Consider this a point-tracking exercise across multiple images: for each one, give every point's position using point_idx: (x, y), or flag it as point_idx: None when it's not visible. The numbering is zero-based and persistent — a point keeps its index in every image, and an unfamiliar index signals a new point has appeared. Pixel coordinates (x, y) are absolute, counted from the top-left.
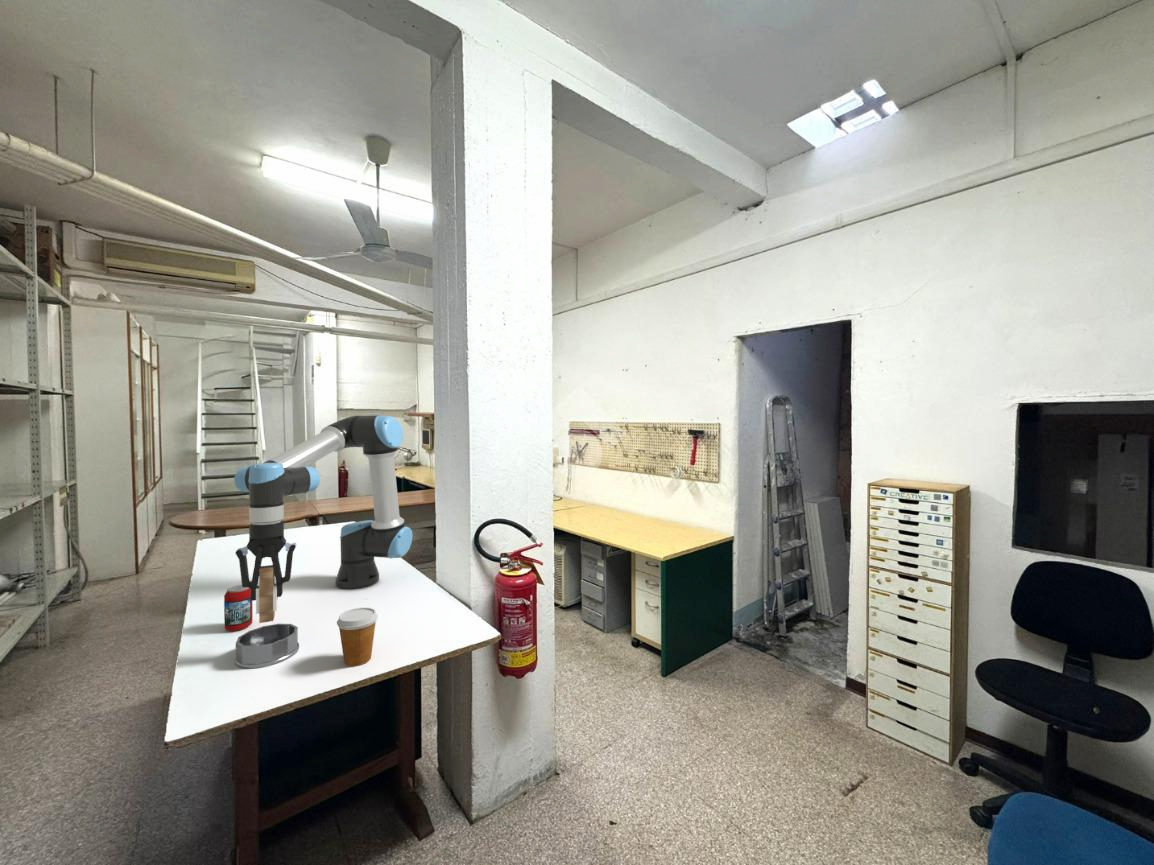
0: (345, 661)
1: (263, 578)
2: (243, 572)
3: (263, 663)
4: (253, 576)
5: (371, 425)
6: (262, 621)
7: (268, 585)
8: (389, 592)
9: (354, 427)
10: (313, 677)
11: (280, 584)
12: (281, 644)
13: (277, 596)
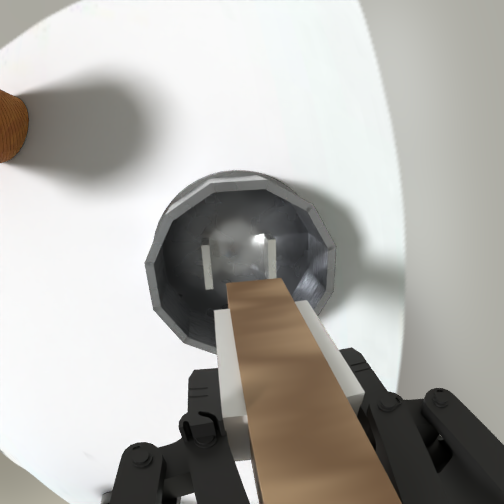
0: (21, 104)
1: (345, 466)
2: (499, 462)
3: (235, 174)
4: (426, 463)
5: None
6: (269, 282)
7: (285, 419)
8: (56, 458)
9: None
10: (93, 60)
11: (185, 419)
12: (184, 199)
13: (214, 370)
